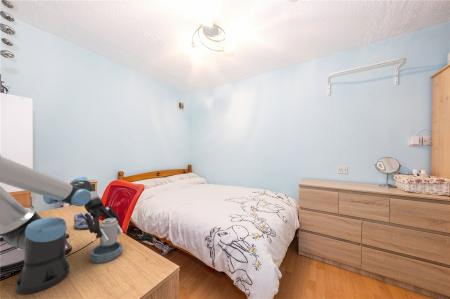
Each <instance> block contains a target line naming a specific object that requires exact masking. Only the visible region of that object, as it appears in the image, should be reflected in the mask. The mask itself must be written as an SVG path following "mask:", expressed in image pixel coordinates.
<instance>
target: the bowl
mask: <svg viewBox="0 0 450 299" xmlns="http://www.w3.org/2000/svg"><path fill="white" fill-rule="evenodd" d="M122 250H123V243H122V242H120V241H118V240H117V241H116V242H115V243H114V244H113V245H110V246H102V245H100V244H97V245H96V246H94V247H93V248H92V249H90V252H89V253H90V255H89V257H90V261H91V262H92V264H93V263H94V264H103V263H108V262H111V261H114V260H115V259H117V258H118V257H119V256H121V254H122Z"/></svg>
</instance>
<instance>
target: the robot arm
mask: <svg viewBox="0 0 450 299" xmlns="http://www.w3.org/2000/svg"><path fill="white" fill-rule="evenodd" d="M0 183H1V184H4V185H8V186H11V187H13V188H14V187H15V188H17V189H20V190H24V191H28V192H30V193H34V194H37V195H40V196H42V199H43V201H44V203H45V204H47V205H51V204H57V203H61V204H62V203H63V204H68V205H71V206H74V207H84V209H85V210H86V213H85V214H83V218H84V219H85V220H86V223H87V225H88V230H89V233H90V234H96V236H97V237H98V238H99V239H100V237H101V239H102V241H103V242H104V243H106V242H107V241H108V240H109V239H108V237H107V236H106V234H105V232H104V231H103V229H100V227H101V223H100V217H102V218H104V219H108V218H116V219H117V221H118V234H117V236H122V234H123V233H124V232H123V230H122V228H121V226H122V225H120V223H119V221H120V220H121V218H120V216H119V215H118V214H117V213H116V212H115V211H114V209H113V207H112V206H111V205H109V206H107V207H106V206H105V205H104V201H103V200H102V199H101V198H100V196H99V194H98V192H96V189H95V188H94V185H92V183H91V182H90V180H89V179H88V177H86V176H78V177H77V178H74V179H72V180H71V181H70V183H68V182H65V181H63V180H61V179H58V178H55V177H53V176H51V175H49V174H46V173H44V172H40V171H38V170H36V169H34V168H31V167H28V166H26V165H25V164H24V165H23V164H21V163H19V162H16V161H14V160H11V159H9V158H6V157H4V156H3V155H1V154H0ZM91 217H92V218H91ZM92 219H93V220H94V222H93V221H92ZM67 228H68V227H67V222H66V219H64V218H61V217H56V216H55V217H53V216H51V217H50V216H49V217H44V218H43V217H42V216H41V215H39V214H38V213H37V212H36V211H35V209H26V208H25V207H24V206H23V205H22V204H21V203H20V202H19V201H18V200H16V199H15V198H14V197H13V196H12V195H11V194H10V193H9V192H8V191H7V190H6V188H4V187H3V186H2V185H0V237H2V238H3V240H4V242H5V243H6V244H8V245H10V246H13V247H15V248H18V249H20V250H22V251H23V252H24V255H23V256H24V258H23V260H24V261H23V268H22V269H21V272H20V274H19V276H18V278H17V280H16V283H15V292H16V293H17V294H19V295H20V294H21V295H22V294H23V295H26V294H27V295H28V294H33V293H39V292H40V291H44V290H46V289H48V288H51V287H53V286H55V285H57V284H59V283H60V282H62V280H64V279H65V278H66V277H67V276H68V275H69V274H70V264H69V261H68V258H67V255H66V238H67Z"/></svg>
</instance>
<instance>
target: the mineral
mask: <svg viewBox="0 0 450 299" xmlns="http://www.w3.org/2000/svg"><path fill="white" fill-rule="evenodd" d="M83 216H84V213H82V212H80V213H77V214H74V215H73V222H74V223H73V228H75V229H78V230H81V229H87V228H88V225H87V223H86V220H85V219H84V218H83ZM91 218H92V221H93V223H94V220H93V216H91ZM88 229H89V228H88Z"/></svg>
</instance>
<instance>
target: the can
mask: <svg viewBox="0 0 450 299" xmlns="http://www.w3.org/2000/svg"><path fill="white" fill-rule="evenodd" d="M118 223H119V221H117V219H116V218H108V219H106V218H104V219H103V220H102V221H101V223H100V229H103V231H104V232H105V234H106V236H107V237H108V239H109V240H108V241H107V242H106V243H104V242H103V241H102V239H101V237H100V238H99V245H102V246H110V245H113V244H114V243H115V242H116V241H117V242H118Z"/></svg>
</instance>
